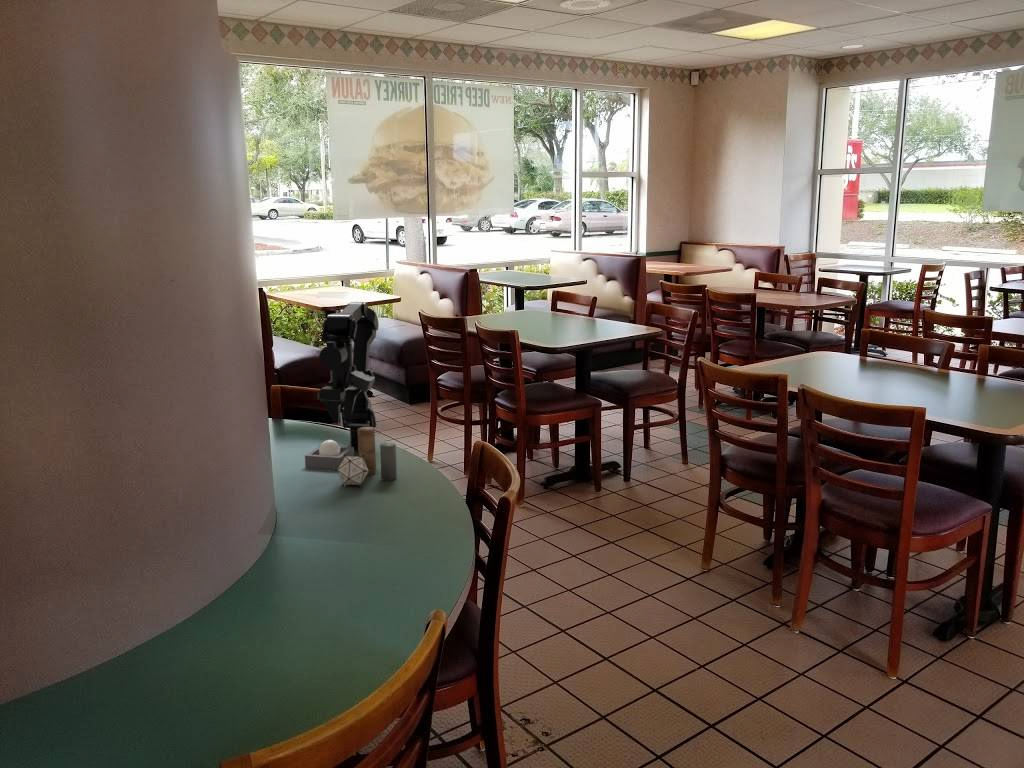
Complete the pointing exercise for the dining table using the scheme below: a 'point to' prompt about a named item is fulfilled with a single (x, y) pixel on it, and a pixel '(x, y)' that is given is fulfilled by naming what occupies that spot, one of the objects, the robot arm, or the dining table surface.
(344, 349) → the robot arm
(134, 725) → the dining table surface
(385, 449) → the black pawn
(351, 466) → the grey faceted polyhedron
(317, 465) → the box
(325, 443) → the dome
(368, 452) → the walnut pawn
